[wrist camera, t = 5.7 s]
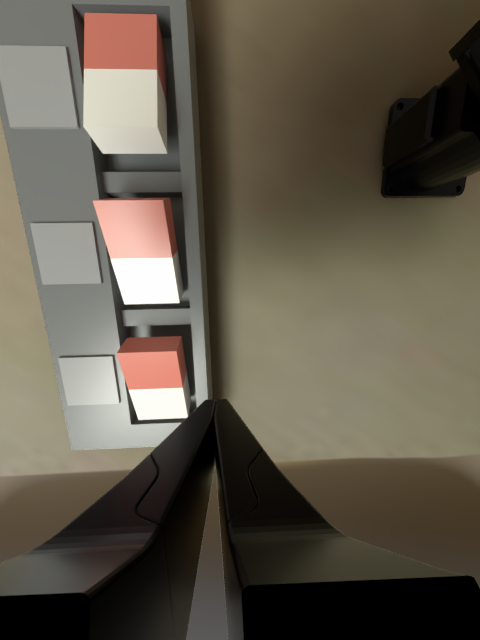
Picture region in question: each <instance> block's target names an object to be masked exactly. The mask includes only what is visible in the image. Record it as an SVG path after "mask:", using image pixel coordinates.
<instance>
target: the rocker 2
mask: <svg viewBox="0 0 480 640" xmlns="http://www.w3.org/2000/svg"><path fill="white" fill-rule="evenodd" d="M93 203H94V207H95V210H96V213H97V216H98V220H99V223H100V226H101V230H102V233H103V236H104V239H105V243H106V246H107V249H108V252H109V256H110V259H111V262H112V265H113V269H114V272H115V275H116V279H117V282H118V285H119V288H120V292H121V295H122V298H123V301H124V304H163V303H180V301H181V298H182V296H183V293H184V290H183V283H182V276H181V269H180V262H179V256H178V249H177V242H176V235H175V228H174V221H173V215H172V208H171V201H170V198H106V199H99V200H93Z"/></svg>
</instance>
